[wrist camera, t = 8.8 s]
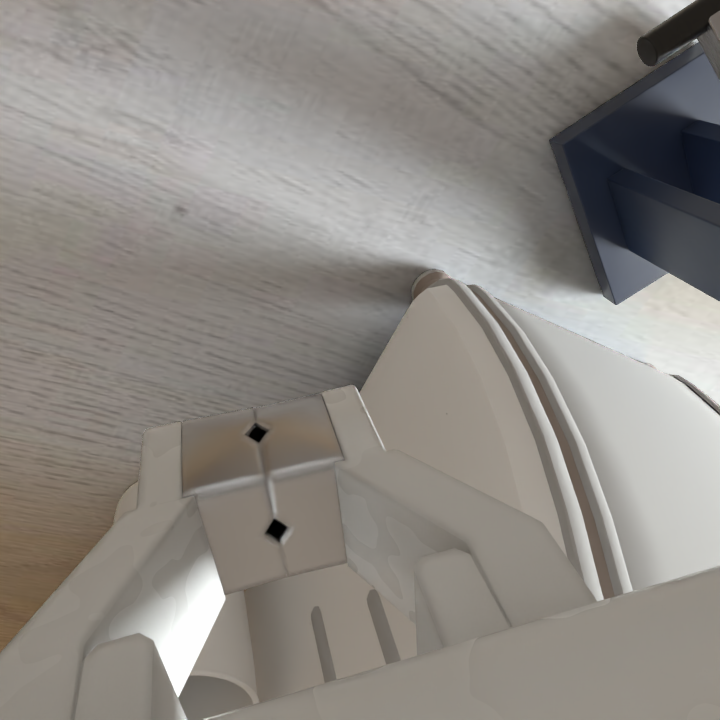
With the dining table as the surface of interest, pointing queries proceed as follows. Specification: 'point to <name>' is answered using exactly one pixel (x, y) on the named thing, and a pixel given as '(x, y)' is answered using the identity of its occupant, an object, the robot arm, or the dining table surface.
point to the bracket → (650, 179)
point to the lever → (685, 34)
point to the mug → (216, 654)
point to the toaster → (511, 469)
